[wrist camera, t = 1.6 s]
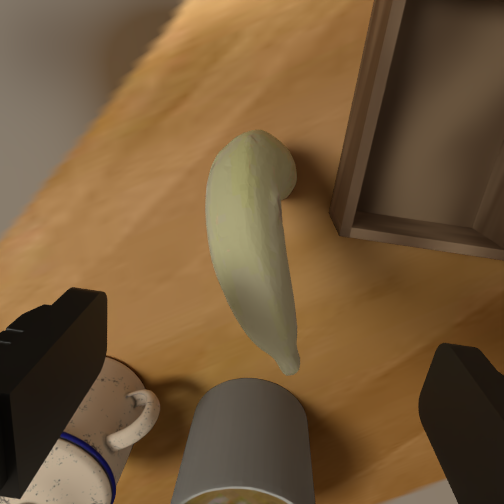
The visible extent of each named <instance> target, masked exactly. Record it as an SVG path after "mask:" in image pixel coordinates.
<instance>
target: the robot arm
mask: <svg viewBox="0 0 504 504" xmlns="http://www.w3.org/2000/svg"><path fill="white" fill-rule="evenodd" d="M106 352H107V296H106V293H105V292H102V291H95V290H88V289H81V288H75V287H72V288H70V289H68V290H67V291H66V292H65V293H64V294H63V295H62V296H61V297H60V298H59V299H58V300H57V301H55V302H54V303H53V304H52V305H45V304H44V305H42V306H40V307H37V308H35V309H33V310H31V311H28V312H26V313H24V314H22V315H21V316H20V317H18V318H17V319H16V320H15V321H14V322H13V323H11V324H10V325H9V326H8V327H7V328H6V331H2V332H1V333H0V496H1V497H8V498H15V499H21V497H22V496H23V494H24V493H25V491H26V489H27V488H28V486H29V485H30V483H31V482H32V480H33V478H34V477H35V475H36V474H37V472H38V470H39V469H40V467H41V466H42V464H43V463H44V461H45V459H46V458H47V456H48V455H49V453H50V451H51V450H52V448H53V447H54V445H55V444H56V442H57V440H58V439H59V437H60V436H61V434H62V432H63V431H64V429H65V428H66V426H67V425H68V423H69V421H70V420H71V418H72V417H73V415H74V413H75V412H76V410H77V409H78V407H79V406H80V404H81V402H82V401H83V399H84V398H85V396H86V394H87V393H88V391H89V390H90V388H91V387H92V385H93V383H94V382H95V380H96V379H97V377H98V375H99V374H100V372H101V370H102V367H103V365H104V361H105V357H106ZM419 416H420V420H421V423H422V425H423V427H424V430H425V432H426V434H427V436H428V438H429V441H430V443H431V445H432V447H433V449H434V451H435V454H436V456H437V458H438V460H439V462H440V465H441V467H442V469H443V471H444V473H445V476H446V478H447V480H448V482H449V484H450V487H451V488H452V491H453V493H454V495H455V497H456V499H457V502H458V504H504V375H502V374H501V373H500V372H498V371H497V370H496V369H495V368H494V366H493V365H492V364H491V363H490V361H489V360H488V359H487V358H486V357H485V355H484V354H483V353H482V352H481V351H480V350H479V349H478V348H475V347H469V346H462V345H456V344H449V343H442V344H440V345H439V346H438V348H437V350H436V352H435V355H434V357H433V360H432V363H431V366H430V368H429V371H428V374H427V377H426V379H425V382H424V385H423V388H422V390H421V393H420V397H419Z"/></svg>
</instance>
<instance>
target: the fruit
mask: <svg viewBox="0 0 504 504" xmlns="http://www.w3.org/2000/svg"><path fill="white" fill-rule="evenodd" d="M296 181H297V172H296V166H295V162H294V159H293V157H292V155H291V153H290V152H289V150H288V149H287V148H286V147H285V146H284V145H283V144H282V143H281V142H280V141H279V140H278V139H276V138H275V137H274V136H272V135H271V134H269V133H267V132H266V131H263V130H252V131H248V132H245V133H243V134H241V135H239V136H237V137H236V138H234V139H233V140H232V141H231V142H230V143H229V144H228V145H226V146H225V147H224V148H223V149H222V150H221V151H220V152H219V153H218V155H217V156H216V158H215V160H214V162H213V164H212V167H211V170H210V173H209V177H208V182H207V189H206V205H205V211H206V226H207V235H208V243H209V249H210V254H211V259H212V263H213V266H214V269H215V272H216V275H217V278H218V281H219V283H220V285H221V288H222V290H223V293H224V295H225V297H226V299H227V302H228V304H229V306H230V308H231V310H232V312H233V314H234V316H235V317H236V319H237V321H238V322H239V324H240V325H241V327H242V328H243V330H244V331H245V333H246V334H247V335H248V337H249V338H250V339H251V340H252V341H253V342H254V343H255V344H256V345H257V346H258V347H259V348H260V349H262V350H263V351H265V352H266V353H268V354H269V355H270V356H272V357H273V358H274V359H275V361H276V362H277V364H278V365H279V367H280V369H281V371H282V372H283V373H284V374H285V375H294V374H295V373H296V372H297V371H298V370H299V367H300V357H299V353H298V350H297V345H296V340H297V322H296V312H295V303H294V296H293V290H292V284H291V278H290V272H289V266H288V260H287V253H286V246H285V238H284V230H283V225H282V210H281V200H283V199H286V198H287V197H288V196H289V194H290V193H291V192H292V190H293V189H294V187H295V185H296Z"/></svg>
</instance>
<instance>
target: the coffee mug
mask: <svg viewBox="0 0 504 504" xmlns="http://www.w3.org/2000/svg"><path fill="white" fill-rule="evenodd" d="M171 504H315V496H314V486H313V475H312V465H311V454H310V444H309V433H308V423H307V417H306V414H305V411H304V409H303V407H302V405H301V404H300V402H299V401H298V400H297V399H296V397H295V396H294V395H292V394H291V393H290V392H289V391H287V390H286V389H284V388H283V387H281V386H279V385H277V384H275V383H272V382H269V381H266V380H261V379H254V378H241V379H234V380H230V381H226V382H223V383H221V384H219V385H217V386H215V387H213V388H212V389H210V390H209V391H208V392H207V393H206V394H205V395H204V396H203V397H202V398H201V400H200V401H199V403H198V405H197V407H196V410H195V413H194V417H193V421H192V424H191V428H190V432H189V436H188V440H187V443H186V447H185V451H184V455H183V459H182V462H181V466H180V470H179V474H178V478H177V481H176V485H175V489H174V493H173V497H172V500H171Z"/></svg>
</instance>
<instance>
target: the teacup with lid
mask: <svg viewBox="0 0 504 504" xmlns="http://www.w3.org/2000/svg"><path fill="white" fill-rule="evenodd" d="M159 412H160V403H159V400H158V398H157V397H156V395H155V394H154V393H153V392H152V391H150V390H146V389H145V388H144V386H143V384H142V382H141V380H140V379H139V378H138V377H137V375H136V374H135V373H134V372H133V371H132V370H130V369H129V368H128V367H127V366H125V365H124V364H122V363H120V362H118V361H116V360H114V359H111V358H108V357H105V361H104V365H103V367H102V370H101V372H100V374H99V375H98V377H97V379H96V380H95V382H94V383H93V385H92V387H91V388H90V390H89V391H88V393H87V394H86V396H85V398H84V399H83V401H82V402H81V404H80V406H79V407H78V409H77V410H76V412H75V413H74V415H73V417H72V418H71V420H70V421H69V423H68V425H67V426H66V428H65V429H64V431H63V432H62V434H61V436H60V437H59V439H58V440H57V442H56V444H55V445H54V447H53V448H52V450H51V451H50V453H49V455H48V456H47V458H46V459H45V461H44V463H43V464H42V466H41V467H40V469H39V470H38V472H37V474H36V475H35V477H34V478H33V480H32V482H31V483H30V485H29V486H28V488H27V489H26V491H25V493H24V494H23V496H22V497H21V499H15V498H8V497H1V496H0V504H113V502H114V499H115V495H116V485H117V483H118V481H119V478H120V476H121V473H122V471H123V469H124V466H125V464H126V461H127V459H128V457H129V454H130V452H131V449H132V447H133V445H134V443H136V442H137V441H139V440H140V439H141V438H143V437H144V436H145V435H146V434H147V433H148V432H149V431H150V430H151V429H152V427H153V426H154V424H155V423H156V421H157V419H158V416H159Z"/></svg>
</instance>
